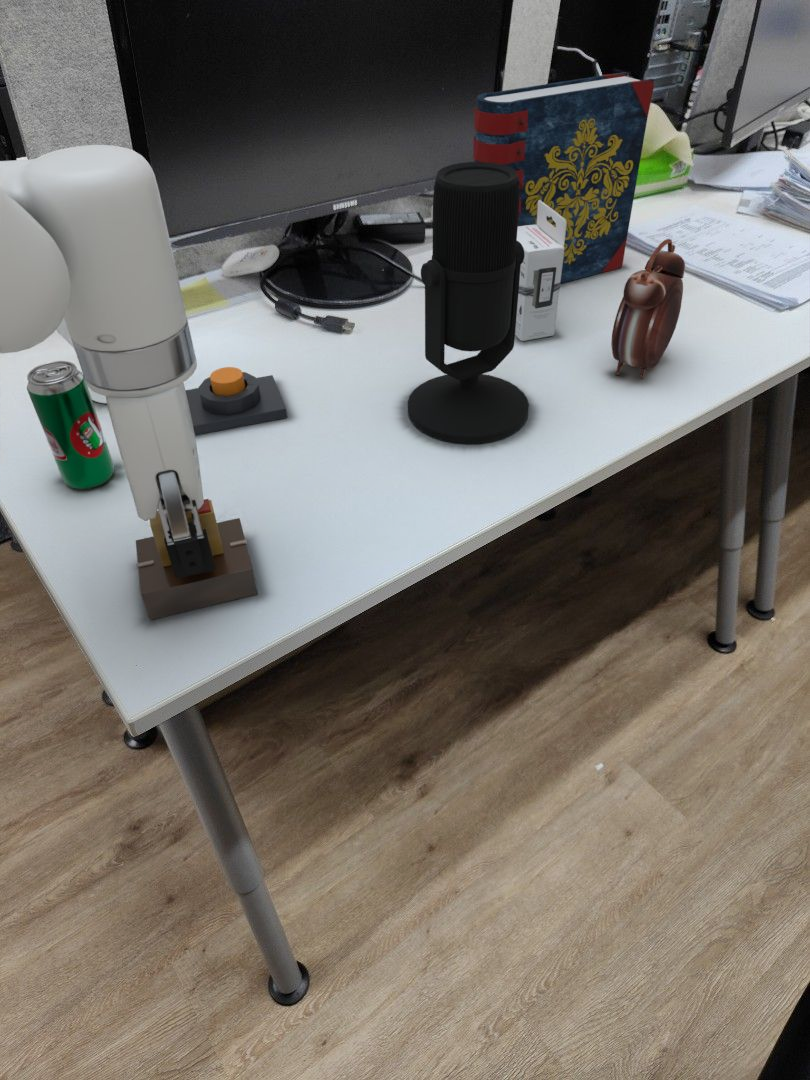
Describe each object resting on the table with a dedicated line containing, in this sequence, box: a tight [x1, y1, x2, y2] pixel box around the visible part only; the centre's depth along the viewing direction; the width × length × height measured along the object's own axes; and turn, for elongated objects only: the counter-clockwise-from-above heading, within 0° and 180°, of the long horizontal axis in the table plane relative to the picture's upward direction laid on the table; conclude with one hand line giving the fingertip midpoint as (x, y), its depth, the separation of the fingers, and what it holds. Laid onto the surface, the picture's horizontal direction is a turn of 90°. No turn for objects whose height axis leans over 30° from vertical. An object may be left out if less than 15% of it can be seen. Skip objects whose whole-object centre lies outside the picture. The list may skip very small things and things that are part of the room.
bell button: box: [209, 366, 245, 396], centre depth 85 cm, size 4×4×2 cm
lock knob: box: [149, 498, 224, 567], centre depth 63 cm, size 5×2×5 cm, turn 108°
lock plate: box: [135, 517, 259, 621], centre depth 65 cm, size 9×7×3 cm
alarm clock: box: [610, 238, 686, 379], centre depth 87 cm, size 11×5×15 cm, turn 146°
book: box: [472, 71, 655, 285], centre depth 104 cm, size 25×7×25 cm, turn 119°
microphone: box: [407, 161, 530, 445], centre depth 78 cm, size 14×14×25 cm
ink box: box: [515, 200, 567, 342], centre depth 96 cm, size 8×5×15 cm, turn 17°
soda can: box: [26, 360, 115, 490], centre depth 74 cm, size 5×5×12 cm
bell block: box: [185, 371, 288, 436], centre depth 86 cm, size 11×8×3 cm
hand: (190, 547), depth 64 cm, fingers open, 5 cm apart
